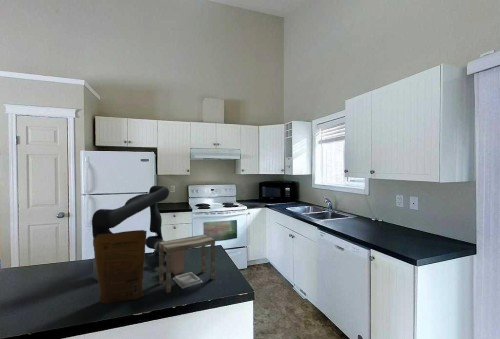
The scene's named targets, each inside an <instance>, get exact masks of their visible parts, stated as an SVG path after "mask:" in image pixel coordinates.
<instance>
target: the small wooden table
mask: <svg viewBox="0 0 500 339" xmlns="http://www.w3.org/2000/svg"><path fill="white" fill-rule="evenodd" d="M207 246H210V279H211V280H215V279H216V238H215V239H214V238H213V237H210V236H208V235H207V234H200V235H199V234H198V235H193V236H187V237H181V238H175V239H170V240H163V242H159V256H158V260H159V261H158V263H159V264H158V265H159V266H158V281H159V282H158V283H159V285H163V284H164V259H163V250H164V251H165V252H166V256H165V259H166V260H165V262H166V264H165V266H166V267H165V268H166V269H165V270H166V271H165V277H166V281H165V282H166V284H165V285H166V286H165V289H166V290H165V292H166V293H167V294H168V293H169V294H170V293H171V292H172V272H171V253H172V252H177V251H182V250H184V251H187V250H190V249H196V248H201V272H202V274H203V273H206V265H207V264H206V247H207Z"/></svg>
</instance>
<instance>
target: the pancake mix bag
mask: <svg viewBox="0 0 500 339" xmlns="http://www.w3.org/2000/svg"><path fill="white" fill-rule="evenodd" d="M147 232H148V231H147V230H145V229H137V230H126V231H119V232H112V233H110V234H100V235H97V238H93V237H92V238H93V239H92V247H93V253H94V254H93V256H94V258H95V263H96V270H97V275H98V281H97V282H98V287H99V291H100V292H99V293H100V295H99V300H98V301H99V302H100V303H103V304H113V303H119V302H128V301H135V300H138V299H139V298H141V297H143V296H144V295H145V294H144V291H143V290H144V289H143V277H144V264H145V259H146V258H145V257H146V239H147V234H148V233H147Z"/></svg>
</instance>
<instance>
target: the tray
mask: <svg viewBox="0 0 500 339" xmlns="http://www.w3.org/2000/svg"><path fill="white" fill-rule="evenodd" d="M172 280H173V281H174V282H175V283H176V284H177V285H178V286H179V287H180V288H181V289H186V288H190V287H193V286H196V285H200V284H202V283H204V281H203V280H202V279H201V278H200V277H199V276H197V275H196V274H195V273H194V272H192V271H190V272H186V273H181V274H177V275H174V277H173V278H172Z"/></svg>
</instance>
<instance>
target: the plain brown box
mask: <svg viewBox="0 0 500 339" xmlns="http://www.w3.org/2000/svg"><path fill="white" fill-rule="evenodd" d="M171 274H173V276H177V275H181V274H185V250H182V251H177V252H172V253H171Z"/></svg>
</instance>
